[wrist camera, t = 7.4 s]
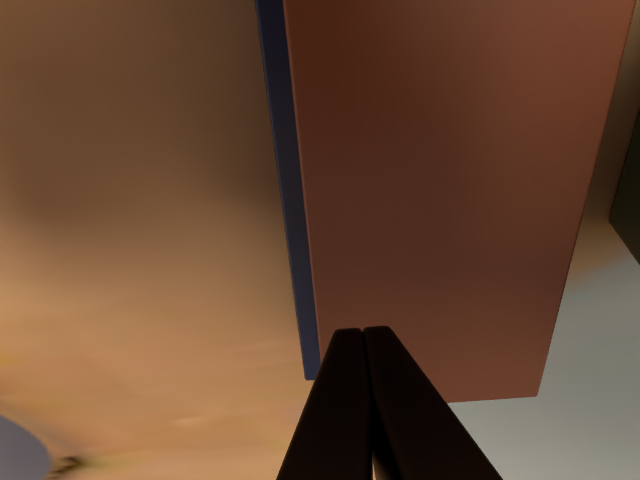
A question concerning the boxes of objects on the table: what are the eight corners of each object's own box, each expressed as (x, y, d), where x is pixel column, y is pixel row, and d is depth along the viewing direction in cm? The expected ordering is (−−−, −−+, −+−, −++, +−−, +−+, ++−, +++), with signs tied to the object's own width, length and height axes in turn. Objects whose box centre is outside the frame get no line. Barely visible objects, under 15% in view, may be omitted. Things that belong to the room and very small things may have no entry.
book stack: (304, 336, 19) (306, 431, 16) (235, -213, 10) (212, -211, 8) (498, 322, 19) (533, 415, 16) (593, -245, 10) (703, -254, 7)
